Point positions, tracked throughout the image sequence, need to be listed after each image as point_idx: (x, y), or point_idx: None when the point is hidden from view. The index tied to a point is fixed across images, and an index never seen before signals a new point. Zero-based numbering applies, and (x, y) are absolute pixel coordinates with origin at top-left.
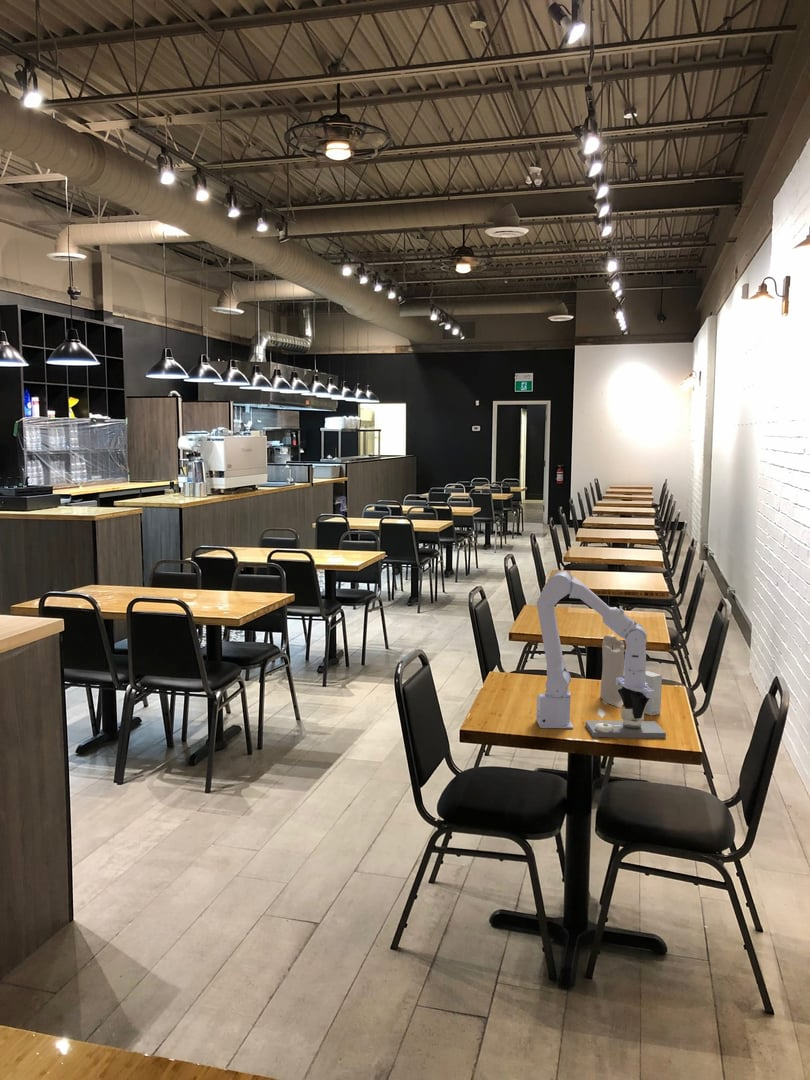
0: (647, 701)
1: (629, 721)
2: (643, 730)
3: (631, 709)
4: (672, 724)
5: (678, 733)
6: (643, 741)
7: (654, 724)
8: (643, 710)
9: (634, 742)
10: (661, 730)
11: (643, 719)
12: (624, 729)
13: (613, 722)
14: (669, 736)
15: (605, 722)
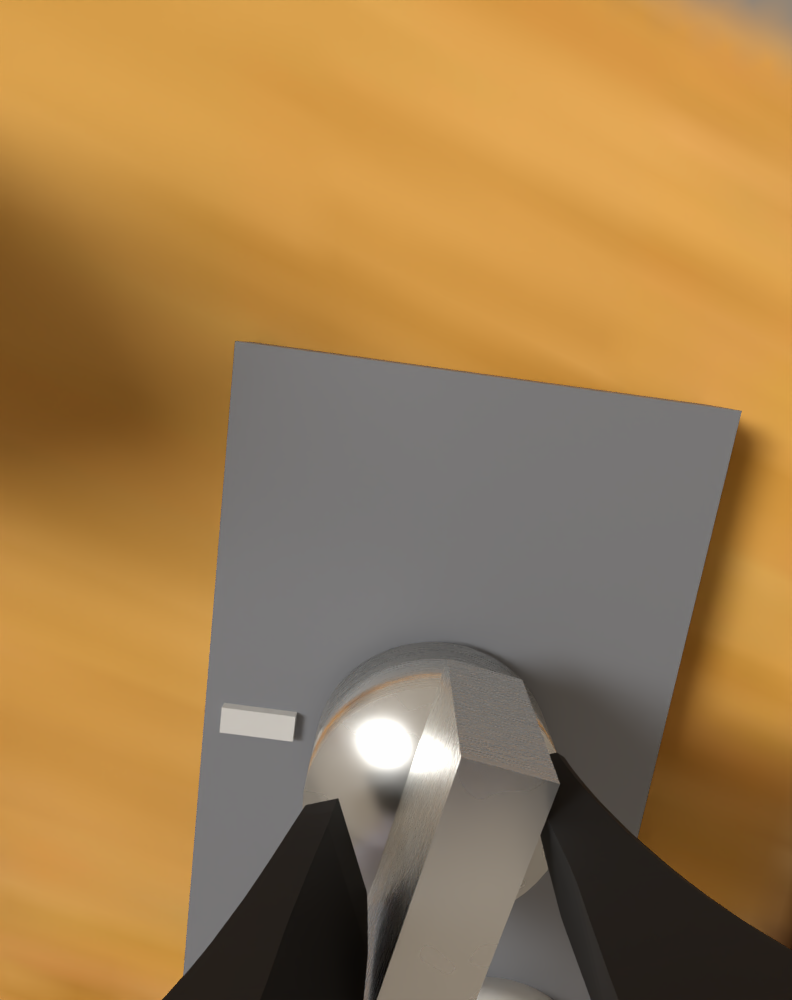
0: (790, 957)
1: (533, 883)
2: (590, 662)
3: (478, 975)
4: (185, 35)
5: (563, 135)
6: (746, 705)
7: (377, 414)
8: (617, 823)
9: (753, 806)
10: (632, 427)
11: (522, 687)
12: None
13: (251, 886)
14: (651, 322)
15: None
